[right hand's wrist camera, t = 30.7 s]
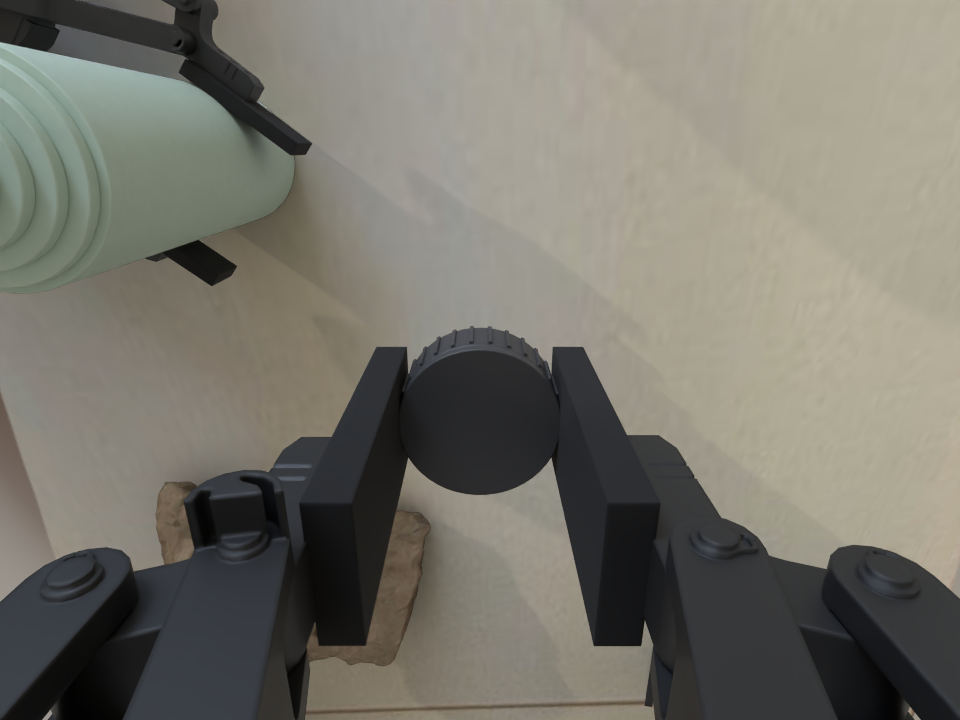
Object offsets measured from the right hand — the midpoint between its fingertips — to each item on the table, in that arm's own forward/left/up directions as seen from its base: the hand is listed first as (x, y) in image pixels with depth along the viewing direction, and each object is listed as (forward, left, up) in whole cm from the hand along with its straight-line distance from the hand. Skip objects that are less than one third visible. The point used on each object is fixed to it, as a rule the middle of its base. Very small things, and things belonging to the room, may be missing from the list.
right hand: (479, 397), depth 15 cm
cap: (0, 0, +1) cm, 1 cm away
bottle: (+3, +17, -26) cm, 31 cm away
